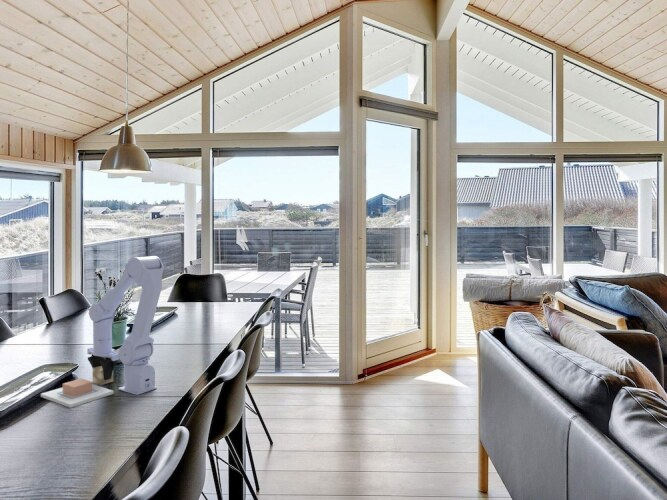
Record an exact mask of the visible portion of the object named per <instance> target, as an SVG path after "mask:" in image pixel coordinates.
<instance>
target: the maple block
mask: <svg viewBox="0 0 667 500" xmlns="http://www.w3.org/2000/svg"><path fill="white" fill-rule="evenodd" d="M113 382H114V371H113V372H112V376H111V379H108V380H104V376H103V369H102V366H99V367H95V368H92V384H95V385H98V386H104V385H106V384H109V383H113Z"/></svg>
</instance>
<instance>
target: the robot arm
mask: <svg viewBox="0 0 667 500" xmlns="http://www.w3.org/2000/svg"><path fill="white" fill-rule="evenodd" d="M164 268H165V266H164V264H163V262H162V260H161V258H160V257H158V256H157V255H151V256H140V257H138V256H137V257H136V256H132V257H130V258H129V260H128V261H127V263H126V264H125V265H124V271H123V273H122V275H121V276H120V278H119V280H118V281H117V283H116V284H115V286H114V287H109V288H106V290H105V293H104V295H103V296H102V297H101V299H99V300H98V303H96V304H92V305H90V307H89V311H88V315H89V319H90V320H91V321H92V326H93V328H92V329H93V330H92V332H93V333H92V334H93V335H92V336H93V337H92V338H93V344H92V345H93V347H89V348H87V349H86V350H87V351H86V352H87V354H86V355H91V356H88V357H87V361H88V362H89V364H90V365H91V368H92V369H93V368H95V367H99V366H102V369H103V376H104V380H108V379H111V376H112V372H113V373H114V369H115V366H116V364H118V363H117V361H118V360H119V358H120V360H121V361H122V362H121V363H122V364H123V365H124V367H123V368H124V385H123V386H120V387H118V390H119V391H122V392H126V393H129V394H133V395H135V396H136V395H137V396H139V395H141V394H144V393H146V392H147V393H148V392H150V391H153V390H156V389H158V386H156V369H155V367H154V366H153V365H151V363H150V362H149V361H150V360H151V359H150V358H151V356H153V354H154V341H155V339H154V338H153V337H152V336H151V334H150V333H151V331H152V330H151V329H152V327H153V322H154V319H155V318H154V317H155V316H156V315H155V314H156V310H157V308H158V303H159V300H160V295H161V292H162V288H163V279H162V278H163V277H162V276H163V272H164ZM134 282H135V283H137V285H138V286H139V287H141V289H142V291H141V294H140V298H139V300H138V301H139V303H138V305H137V310H136V313H135V318H134V322H133V325H132V329H131V333H130V334H129V335H127V336H126V337H125V339H124V340H123V343H122V345H121V346H120V347H119V348H120V349H119V354H117V353H115V352H114V351H115V350H116V349H114V348H113V328H112V327H113V325H112V324H114V319H115V317H116V315H117V311H116V310H117V309H118V307H119V306H120V305H121V303H122V302H123V300H124V299H125V293H126V291H127V290H128V289H129V288H130V287H131V286H132V284H133V283H134Z"/></svg>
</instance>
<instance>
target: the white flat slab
mask: <svg viewBox="0 0 667 500" xmlns="http://www.w3.org/2000/svg"><path fill="white" fill-rule="evenodd" d="M114 392H115V391H114V390H113V389H108V388H105V387H103V386H101V385H98V384H95V383H93V381H90V380H86V379H83V378H77V379H75V380H71V381H67V382H64V383H62V387H59V388H56V389H51V390H49V391H45V392H42V393H40V398H43V399H46V400H49V401H50V402H51V401H52V402H54V403H57V404H59V405H62V406H65V407H67V408H75V407H77V406H79V405H80V406H81V405H84V404H87V403H89V402H92V401H96V400H100V399H102V398H105V397H108V396H111V395H113V394H114Z"/></svg>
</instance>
